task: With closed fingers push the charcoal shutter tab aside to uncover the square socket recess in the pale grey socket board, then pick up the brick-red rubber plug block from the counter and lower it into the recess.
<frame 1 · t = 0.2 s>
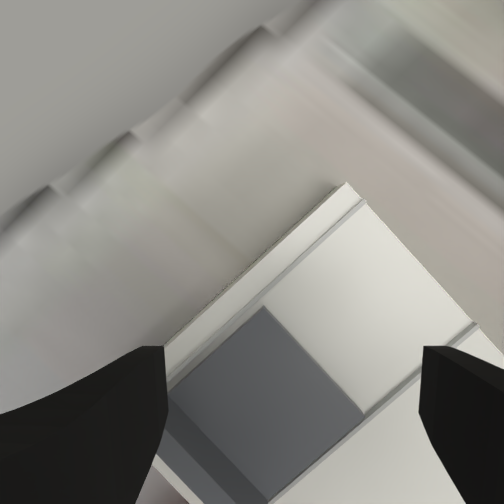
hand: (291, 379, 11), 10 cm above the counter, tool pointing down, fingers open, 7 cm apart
shutter: (257, 421, 18), point 4 cm above the counter, slide at 0.0 cm
socket board: (325, 398, 22), on the counter
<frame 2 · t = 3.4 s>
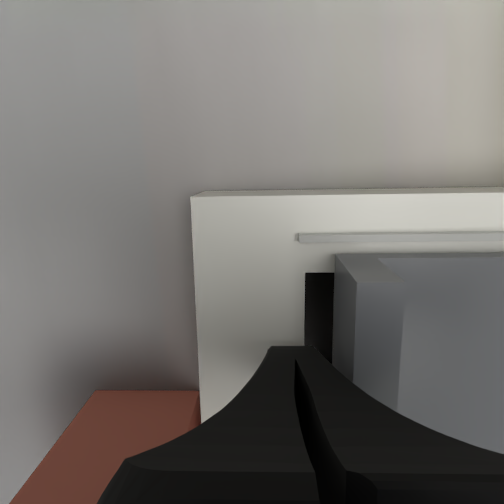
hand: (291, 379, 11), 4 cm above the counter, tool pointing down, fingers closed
shutter: (477, 393, 10), point 4 cm above the counter, slide at 1.6 cm, touching gripper
socket board: (426, 404, 15), on the counter
plug: (150, 436, 16), on the counter
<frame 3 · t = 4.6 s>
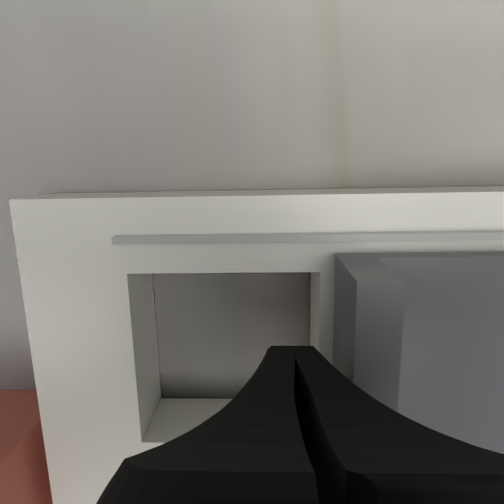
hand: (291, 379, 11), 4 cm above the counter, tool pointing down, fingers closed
shutter: (478, 392, 10), point 4 cm above the counter, slide at 6.8 cm, touching gripper
socket board: (287, 403, 15), on the counter
plug: (22, 435, 16), on the counter
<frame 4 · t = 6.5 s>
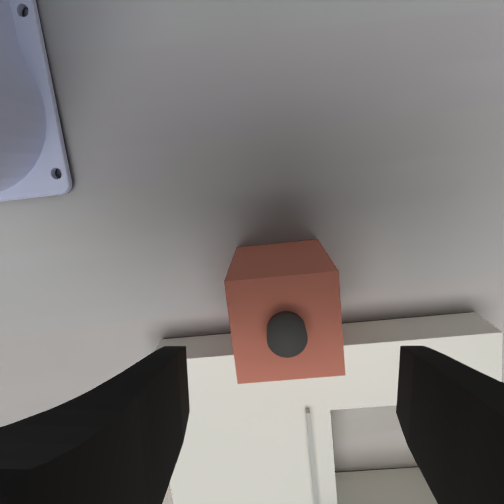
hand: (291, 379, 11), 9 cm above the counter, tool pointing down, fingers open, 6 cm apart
socket board: (325, 460, 22), on the counter
plug: (280, 281, 20), on the counter
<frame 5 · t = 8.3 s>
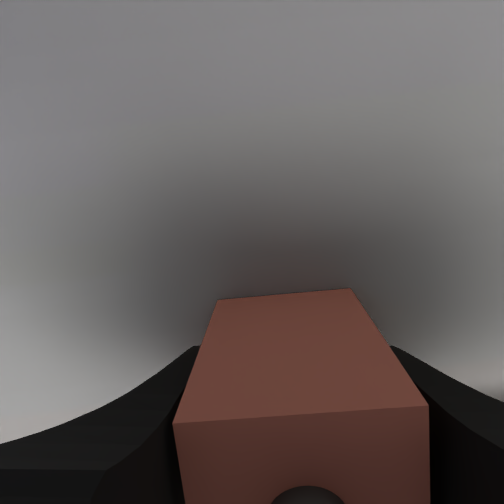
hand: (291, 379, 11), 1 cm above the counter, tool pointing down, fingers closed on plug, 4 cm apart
plug: (289, 355, 13), on the counter, touching gripper
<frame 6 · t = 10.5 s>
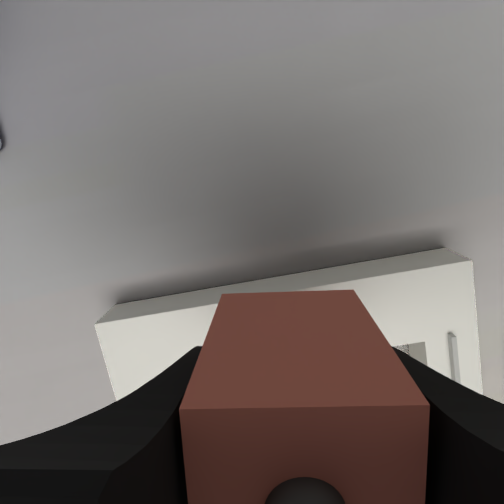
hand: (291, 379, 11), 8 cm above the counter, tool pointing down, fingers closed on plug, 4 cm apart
socket board: (302, 423, 21), on the counter
plug: (289, 352, 13), point 7 cm above the counter, touching gripper
when the fingers open (4 cm above the counter, at t = 12.7 s): plug drops 2 cm, on the counter.
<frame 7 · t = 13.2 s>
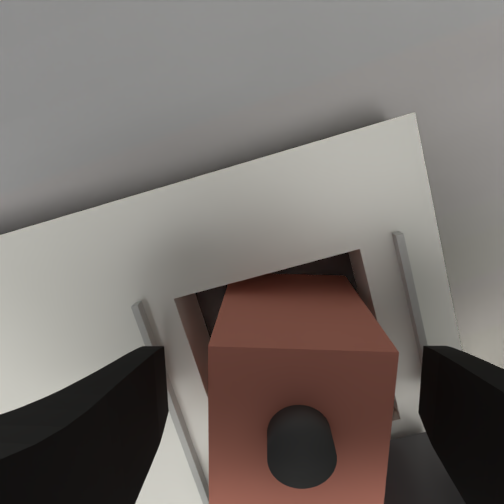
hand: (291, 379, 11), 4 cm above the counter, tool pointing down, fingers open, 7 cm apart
socket board: (223, 394, 15), on the counter
plug: (286, 326, 15), on the counter
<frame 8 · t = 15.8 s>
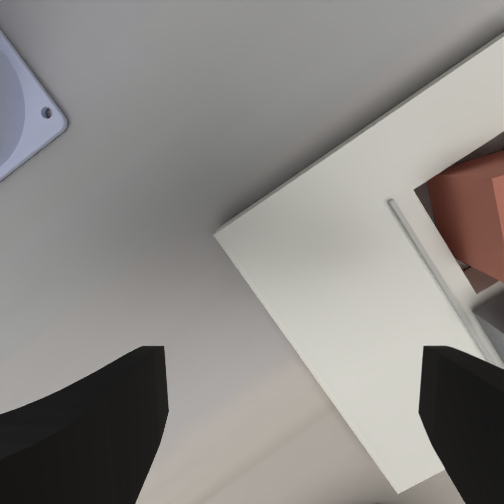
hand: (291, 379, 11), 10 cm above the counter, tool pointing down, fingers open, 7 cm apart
socket board: (440, 268, 20), on the counter
plug: (474, 201, 20), on the counter
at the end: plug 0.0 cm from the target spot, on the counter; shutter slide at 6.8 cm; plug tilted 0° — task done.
